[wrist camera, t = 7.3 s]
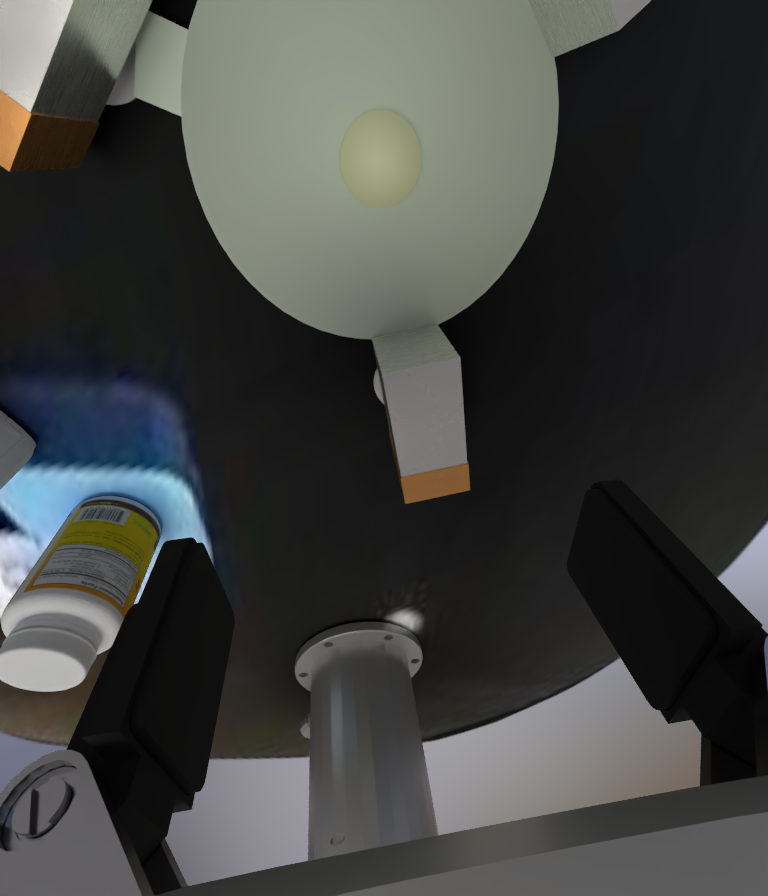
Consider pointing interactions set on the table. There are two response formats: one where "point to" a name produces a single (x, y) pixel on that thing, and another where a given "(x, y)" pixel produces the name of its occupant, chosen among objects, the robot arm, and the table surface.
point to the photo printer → (13, 448)
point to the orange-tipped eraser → (581, 20)
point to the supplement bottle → (77, 594)
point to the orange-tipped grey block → (59, 75)
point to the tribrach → (359, 146)
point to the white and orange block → (424, 411)
